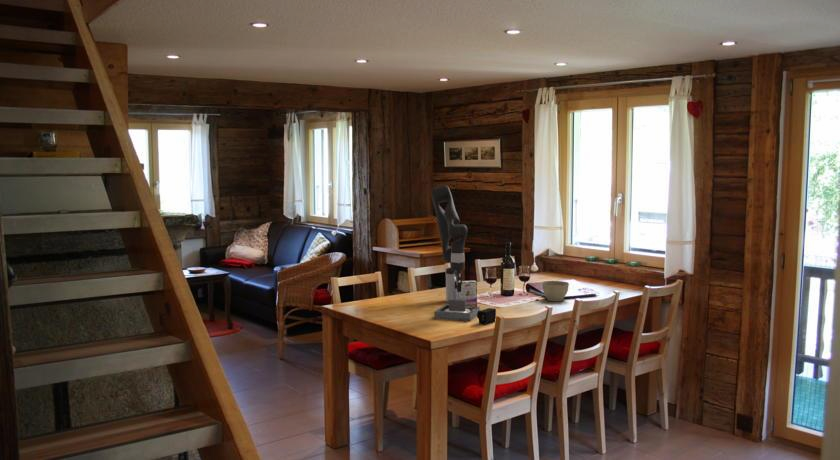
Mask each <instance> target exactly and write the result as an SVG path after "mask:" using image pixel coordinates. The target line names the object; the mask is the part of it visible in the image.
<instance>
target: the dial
mask: <svg viewBox="0 0 840 460" xmlns="http://www.w3.org/2000/svg"><path fill="white" fill-rule="evenodd" d="M448 305H449V309H446V310H445V312H458V313H469V312H470V310H469V309H466V300H457V299H449V302H448Z"/></svg>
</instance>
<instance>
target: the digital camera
mask: <svg viewBox="0 0 840 460" xmlns="http://www.w3.org/2000/svg"><path fill="white" fill-rule="evenodd" d="M476 317H477V319H478V325H483V326H487V325H490V324H493V323H496V322H495V319H496V320H497V310H496V308H492V307H491V308H490V307H488V308H484V309H482V310H481V309H480V310H479V311H478V313H477V316H476Z"/></svg>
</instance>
